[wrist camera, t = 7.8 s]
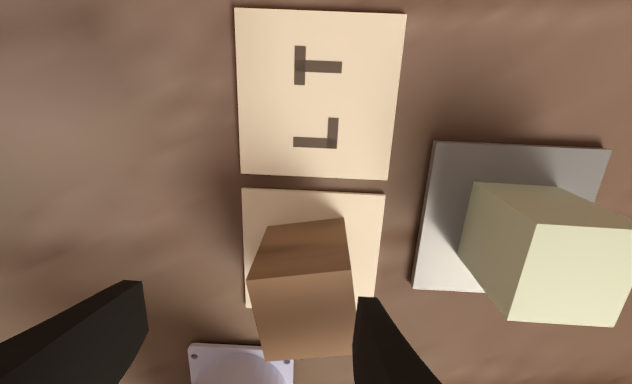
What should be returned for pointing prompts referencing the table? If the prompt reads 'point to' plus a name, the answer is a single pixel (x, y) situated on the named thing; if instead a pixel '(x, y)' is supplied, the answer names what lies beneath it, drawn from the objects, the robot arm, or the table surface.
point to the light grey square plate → (494, 167)
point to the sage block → (547, 254)
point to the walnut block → (303, 291)
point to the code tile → (317, 91)
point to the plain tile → (311, 206)
